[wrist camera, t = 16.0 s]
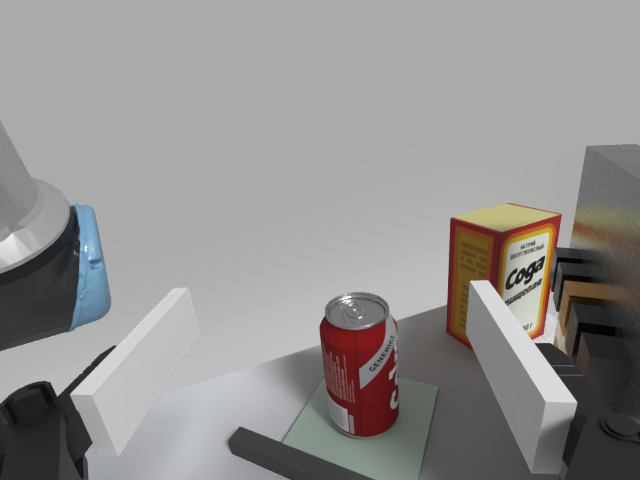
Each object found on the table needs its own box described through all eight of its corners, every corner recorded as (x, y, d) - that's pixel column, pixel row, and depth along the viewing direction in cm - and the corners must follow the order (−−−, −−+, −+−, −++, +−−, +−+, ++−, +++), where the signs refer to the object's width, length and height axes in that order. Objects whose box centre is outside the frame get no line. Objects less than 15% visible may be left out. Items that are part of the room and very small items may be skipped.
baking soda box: (498, 310, 49) (508, 200, 43) (543, 334, 43) (562, 210, 38) (446, 332, 45) (450, 215, 40) (487, 361, 40) (499, 229, 34)
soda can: (343, 454, 30) (331, 340, 26) (321, 398, 36) (308, 298, 32) (412, 430, 32) (412, 319, 27) (380, 380, 38) (375, 282, 34)
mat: (281, 446, 32) (281, 443, 32) (334, 362, 42) (334, 360, 42) (414, 499, 27) (413, 495, 26) (438, 389, 36) (438, 385, 36)
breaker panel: (549, 628, 20) (649, 225, 11) (528, 383, 36) (562, 147, 28) (657, 680, 17) (876, 235, 9) (582, 395, 34) (636, 144, 26)
